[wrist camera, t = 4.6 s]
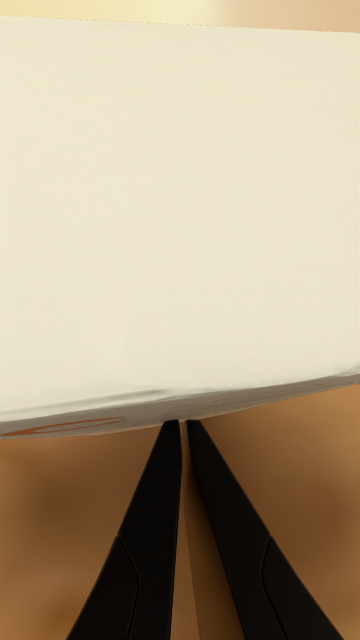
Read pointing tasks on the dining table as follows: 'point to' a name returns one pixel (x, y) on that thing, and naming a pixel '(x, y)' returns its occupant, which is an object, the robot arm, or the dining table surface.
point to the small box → (174, 221)
